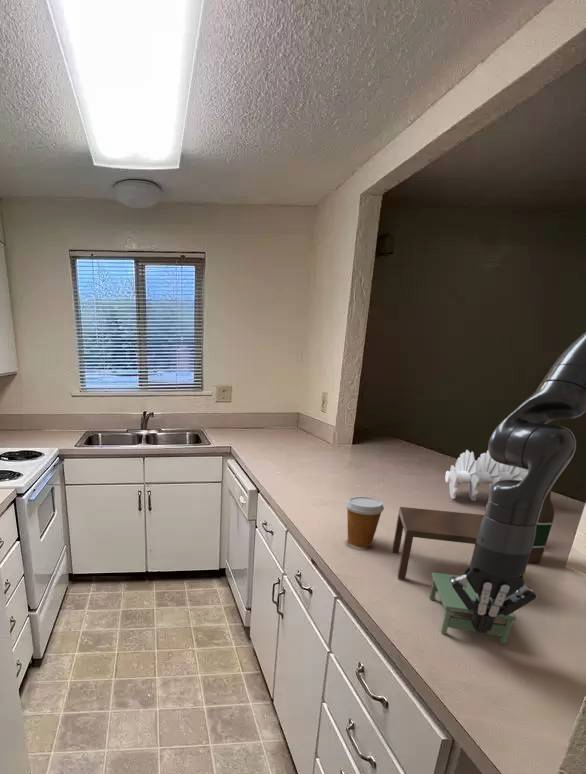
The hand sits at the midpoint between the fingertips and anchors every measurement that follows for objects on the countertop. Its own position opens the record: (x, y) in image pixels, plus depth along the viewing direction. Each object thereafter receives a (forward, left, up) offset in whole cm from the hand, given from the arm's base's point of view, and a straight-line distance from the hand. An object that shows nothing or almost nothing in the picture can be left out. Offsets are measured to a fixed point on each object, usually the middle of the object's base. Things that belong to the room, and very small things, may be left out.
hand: (479, 630), depth 78 cm
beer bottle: (-20, -43, -3) cm, 48 cm away
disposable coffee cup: (+19, -40, -3) cm, 45 cm away
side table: (0, -29, -3) cm, 29 cm away
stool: (0, -8, -3) cm, 9 cm away
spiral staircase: (-22, -89, -3) cm, 92 cm away
